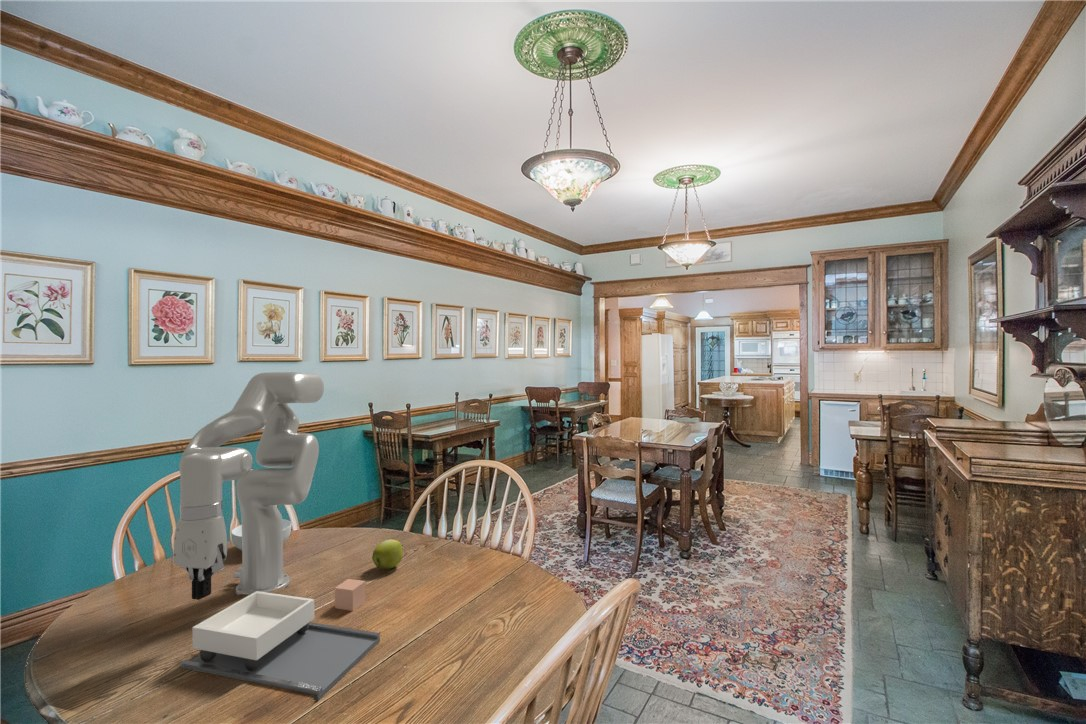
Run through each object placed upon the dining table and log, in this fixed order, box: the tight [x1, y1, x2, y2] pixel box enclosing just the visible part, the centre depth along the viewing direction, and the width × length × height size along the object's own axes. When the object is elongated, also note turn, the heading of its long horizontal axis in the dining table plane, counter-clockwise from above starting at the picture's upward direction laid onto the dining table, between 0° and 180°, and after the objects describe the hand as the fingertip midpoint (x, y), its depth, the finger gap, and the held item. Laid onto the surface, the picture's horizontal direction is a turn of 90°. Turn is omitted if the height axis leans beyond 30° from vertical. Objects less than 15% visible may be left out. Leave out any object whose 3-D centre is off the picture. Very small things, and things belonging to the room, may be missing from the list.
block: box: [334, 578, 367, 612], centre depth 121 cm, size 5×5×6 cm
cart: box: [191, 591, 316, 671], centre depth 104 cm, size 16×16×7 cm
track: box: [179, 621, 381, 701], centre depth 102 cm, size 32×19×2 cm, turn 75°
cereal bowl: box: [230, 518, 293, 551], centre depth 160 cm, size 17×17×7 cm
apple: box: [371, 538, 404, 570], centre depth 144 cm, size 8×9×8 cm
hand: (201, 596), depth 107 cm, fingers closed
